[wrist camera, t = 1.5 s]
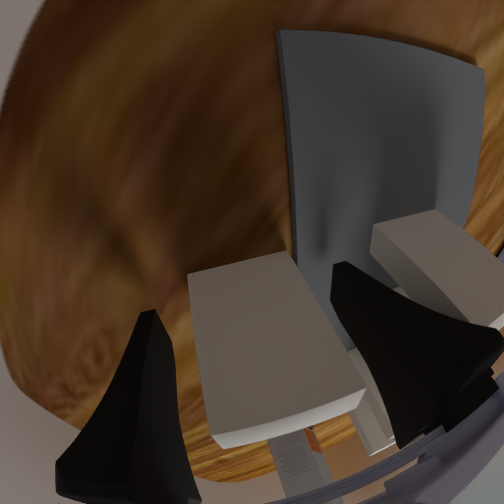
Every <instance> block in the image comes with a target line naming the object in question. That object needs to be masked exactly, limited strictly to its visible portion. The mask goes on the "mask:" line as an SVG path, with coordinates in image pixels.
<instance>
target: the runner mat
mask: <svg viewBox="0 0 504 504" xmlns="http://www.w3.org/2000/svg"><path fill="white" fill-rule="evenodd" d="M275 35H276V42H277V50H278V58H279V67H280V76H281V85H282V94H283V104H284V115H285V126H286V137H287V150H288V163H289V177H290V193H291V210H292V230H293V254H294V262H295V264H296V266H297V267H298V269H299V271H300V272H301V274H302V276H303V277H304V279H305V281H306V282H307V284H308V286H309V287H310V289H311V291H312V292H313V294H314V296H315V297H316V299H317V301H318V302H319V304H320V306H321V308H322V309H323V311H324V313H325V314H326V316H327V318H328V319H329V321H330V323H331V325H332V326H333V328H334V330H335V332H336V333H337V335H338V337H339V338H340V340H341V342H342V344H343V345H344V347H345V349H346V351H347V352H348V353H349V351H350V350H352V349H355V348H356V346H355V344H354V343H353V341H352V340H351V338H350V337H349V335H348V333H347V332H346V330H345V329H344V327H343V325H342V324H341V322H340V321H339V319H338V317H337V315H336V313H335V310H334V308H333V306H332V304H331V302H330V292H331V281H332V269H333V264H336V263H339V262H343V261H347V262H349V263H351V264H352V265H354V266H355V267H357V268H359V269H360V270H362V271H363V272H365V273H367V274H368V275H370V276H371V277H373V278H374V279H376V280H378V281H379V282H381V283H382V284H384V285H386V286H387V287H389V288H391V289H395V288H397V287H400V286H399V285H398V283H397V282H396V281H395V280H394V279H393V278H392V277H391V276H390V274H389V273H388V272H387V271H386V270H385V269H384V268H383V267H382V266H381V265H380V263H379V262H378V261H377V260H376V259H375V258H374V257H373V256H372V255H371V254H370V253H369V251H370V244H371V237H372V229H373V224H376V223H380V222H384V221H388V220H393V219H397V218H401V217H405V216H409V215H413V214H417V213H421V212H425V211H430V210H434V209H436V210H437V211H438V212H440V213H441V214H443V215H444V216H445V217H447V218H448V219H449V220H451V221H452V222H454V223H455V224H456V225H457V226H459V227H460V228H461V229H463V230H464V227H465V223H466V219H467V216H468V212H469V208H470V203H471V199H472V195H473V190H474V185H475V180H476V174H477V169H478V162H479V156H480V148H481V140H482V130H483V118H484V95H485V77H484V69H481V68H479V67H477V66H474V65H472V64H469V63H467V62H464V61H461V60H458V59H456V58H453V57H450V56H447V55H444V54H441V53H438V52H434V51H431V50H428V49H424V48H420V47H417V46H413V45H409V44H405V43H400V42H396V41H391V40H386V39H381V38H375V37H369V36H362V35H355V34H347V33H338V32H326V31H309V30H279V31H277V32H275Z"/></svg>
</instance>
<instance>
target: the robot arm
mask: <svg viewBox="0 0 504 504" xmlns="http://www.w3.org/2000/svg"><path fill="white" fill-rule="evenodd" d="M497 258H498V259H499V260H500V261H501V262H502V263H503V264H504V248H503V250H502V251H501V253H500V254H499V255H498V257H497ZM330 302H331V304H332V306H333V308H334V310H335V313H336V315H337V317H338V319H339V321H340V322H341V324H342V325H343V327H344V329H345V330H346V332H347V333H348V335H349V337H350V338H351V340H352V341H353V343H354V344H355V346H356V348H357V349H358V351H359V352H360V354H361V356H362V357H363V359H364V361H365V362H366V364H367V366H368V368H369V370H370V372H371V374H372V377H373V379H374V381H375V383H376V386H377V388H378V390H379V393H380V395H381V398H382V400H383V403H384V406H385V408H386V411H387V414H388V417H389V420H390V423H391V427H392V430H393V434H394V437H395V441H396V444H397V446H398V447H399V449H402V448H404V447H405V446H407V445H409V444H411V443H412V442H414V441H416V440H417V439H419V438H420V437H422V436H424V435H425V436H424V437H423V438H421V439H419V440H418V441H416V442H415V443H413V444H411V445H410V446H408V447H406V448H404V449H403V450H401V451H399V452H397V453H396V454H394V455H392V456H390V457H388V458H386V459H384V460H383V461H381V462H379V463H377V464H375V465H373V466H370V467H368V468H366V469H364V470H362V471H360V472H358V473H355V474H353V475H351V476H348V477H346V478H344V479H341V480H339V481H336V482H334V483H331V484H328V485H326V486H323V487H320V488H317V489H314V490H311V491H308V492H305V493H302V494H299V495H296V496H292V497H289V498H286V499H282V500H278V501H274V502H270V503H265V504H322V503H325V502H328V501H330V500H333V499H336V498H338V497H341V496H343V495H345V494H348V493H350V492H353V491H355V490H357V489H360V488H362V487H364V486H366V485H368V484H370V483H372V482H374V481H376V480H378V479H380V478H382V477H384V476H386V475H388V474H390V473H392V472H394V471H396V470H397V469H399V468H401V467H403V466H404V465H406V464H408V463H409V462H411V461H413V460H414V459H416V458H417V457H419V458H418V461H417V464H416V465H414V466H412V467H410V468H409V469H407V470H405V471H403V472H401V473H400V474H398V475H396V476H395V477H393V478H391V479H389V480H387V481H386V482H384V486H385V488H386V491H384V492H382V493H380V494H378V495H376V496H373V497H371V498H369V499H367V500H365V501H362V502H360V503H358V504H451V503H450V502H451V501H452V500H453V499H454V498H456V497H457V496H458V495H459V494H460V493H461V492H462V491H463V490H464V489H465V488H466V487H467V486H468V485H469V484H470V483H471V482H472V481H473V480H474V479H475V478H476V477H477V476H478V475H479V473H480V472H481V471H482V470H483V469H484V468H485V467H486V465H487V464H488V463H489V462H490V461H491V460H492V459H493V457H494V456H495V455H496V454H497V453H498V451H499V450H500V449H501V448H502V446H503V445H504V371H503V372H502V373H501V374H500V375H499V376H498V377H497V378H496V379H495V380H494V379H493V378H492V377H491V376H492V375H493V374H494V372H493V370H492V369H491V366H492V365H493V364H494V363H495V361H496V360H497V359H498V358H499V356H500V355H501V354H502V352H503V351H504V337H503V336H502V335H501V333H500V332H499V331H498V330H497V329H496V328H492V327H487V326H482V325H477V324H473V323H469V322H465V321H462V320H458V319H455V318H452V317H449V316H447V315H444V314H441V313H439V312H436V311H434V310H431V309H429V308H427V307H425V306H423V305H421V304H418V303H416V302H414V301H412V300H410V299H409V298H407V297H405V296H403V295H401V294H399V293H398V292H396V291H394V290H392V289H391V288H389V287H387V286H386V285H384V284H382V283H381V282H379V281H378V280H376V279H374V278H373V277H371V276H370V275H368V274H367V273H365V272H363V271H362V270H360V269H359V268H357V267H355V266H354V265H352V264H351V263H349V262H347V261H343V262H339V263H336V264H333V269H332V281H331V292H330ZM55 483H56V492H57V494H58V495H60V496H63V497H66V498H69V499H72V500H75V501H79V502H83V503H86V504H201V502H202V499H201V497H200V494H199V491H198V489H197V486H196V483H195V480H194V477H193V474H192V471H191V467H190V464H189V460H188V457H187V453H186V449H185V445H184V441H183V436H182V431H181V427H180V422H179V414H178V402H177V386H176V368H175V359H174V352H173V346H172V341H171V339H170V337H169V335H168V333H167V331H166V329H165V328H164V326H163V324H162V322H161V320H160V318H159V316H158V314H157V312H156V310H155V309H154V310H149V311H145V312H141V313H140V315H139V317H138V320H137V322H136V325H135V327H134V330H133V332H132V335H131V337H130V340H129V342H128V345H127V347H126V350H125V352H124V354H123V357H122V359H121V362H120V364H119V366H118V368H117V370H116V372H115V375H114V377H113V379H112V381H111V383H110V385H109V387H108V389H107V391H106V393H105V394H104V396H103V398H102V400H101V402H100V403H99V405H98V406H97V408H96V410H95V411H94V413H93V415H92V416H91V418H90V419H89V421H88V422H87V424H86V425H85V426H84V428H83V429H82V431H81V432H80V433H79V435H78V436H77V438H76V439H75V440H74V441H73V443H72V444H71V445H70V446H69V447H68V448H67V449H66V451H65V452H64V453H63V454H62V455H61V456H60V458H58V460H57V461H56V465H55Z"/></svg>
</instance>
